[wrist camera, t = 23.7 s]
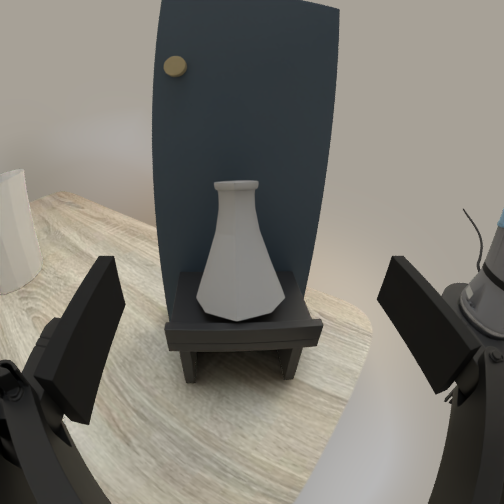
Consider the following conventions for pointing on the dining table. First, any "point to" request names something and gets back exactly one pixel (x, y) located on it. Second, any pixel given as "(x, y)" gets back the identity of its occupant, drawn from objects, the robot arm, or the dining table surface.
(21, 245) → the container
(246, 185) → the flask
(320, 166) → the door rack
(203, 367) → the dining table surface
